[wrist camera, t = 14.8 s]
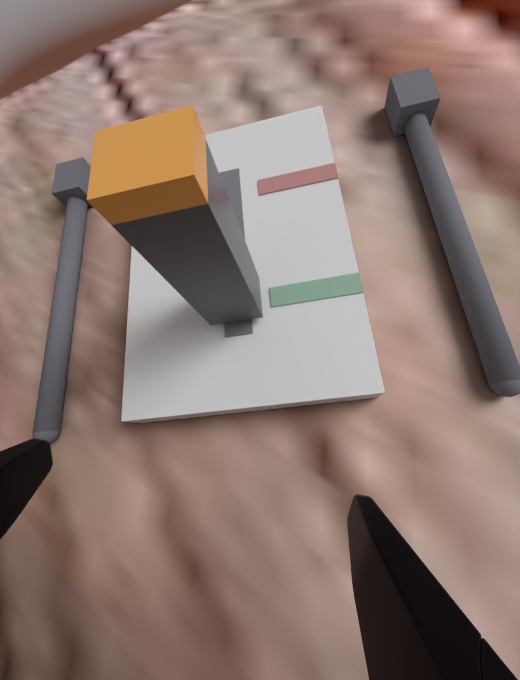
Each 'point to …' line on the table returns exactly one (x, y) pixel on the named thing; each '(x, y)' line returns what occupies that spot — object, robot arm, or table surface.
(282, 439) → the table surface
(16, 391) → the table surface
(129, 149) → the breaker lever
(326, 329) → the breaker panel
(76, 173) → the pair of grey rods
